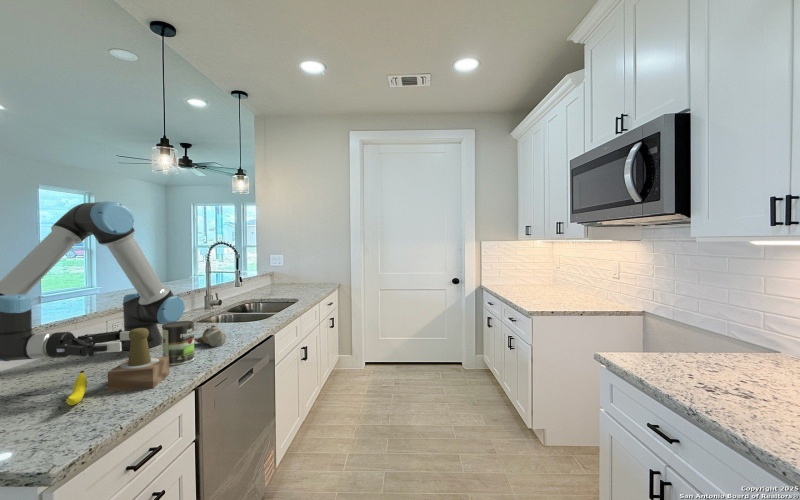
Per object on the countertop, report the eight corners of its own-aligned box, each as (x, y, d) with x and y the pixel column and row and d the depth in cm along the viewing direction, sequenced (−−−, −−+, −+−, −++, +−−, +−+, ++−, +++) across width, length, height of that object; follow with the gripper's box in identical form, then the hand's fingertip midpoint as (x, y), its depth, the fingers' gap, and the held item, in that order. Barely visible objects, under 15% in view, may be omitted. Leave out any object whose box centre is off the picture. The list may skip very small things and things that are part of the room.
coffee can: (201, 357, 139) (200, 321, 139) (180, 366, 129) (179, 327, 129) (178, 355, 141) (177, 320, 141) (155, 364, 131) (154, 326, 131)
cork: (125, 367, 110) (124, 331, 110) (129, 361, 116) (128, 327, 115) (149, 364, 113) (148, 329, 113) (152, 358, 119) (151, 325, 118)
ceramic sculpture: (206, 329, 148) (192, 325, 157) (207, 350, 148) (193, 345, 157) (232, 324, 156) (217, 321, 166) (233, 344, 156) (218, 340, 165)
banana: (61, 418, 92) (60, 394, 91) (76, 392, 107) (75, 371, 107) (76, 415, 93) (75, 391, 93) (89, 390, 109) (88, 369, 109)
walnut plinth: (129, 377, 119) (128, 358, 119) (169, 373, 122) (169, 355, 122) (108, 391, 108) (107, 371, 107) (153, 388, 110) (152, 367, 110)
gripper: (80, 345, 122) (150, 341, 126) (20, 372, 97) (110, 365, 102) (79, 323, 121) (150, 320, 126) (19, 344, 97) (109, 339, 102)
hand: (132, 340), depth 114 cm, fingers open, 13 cm apart
